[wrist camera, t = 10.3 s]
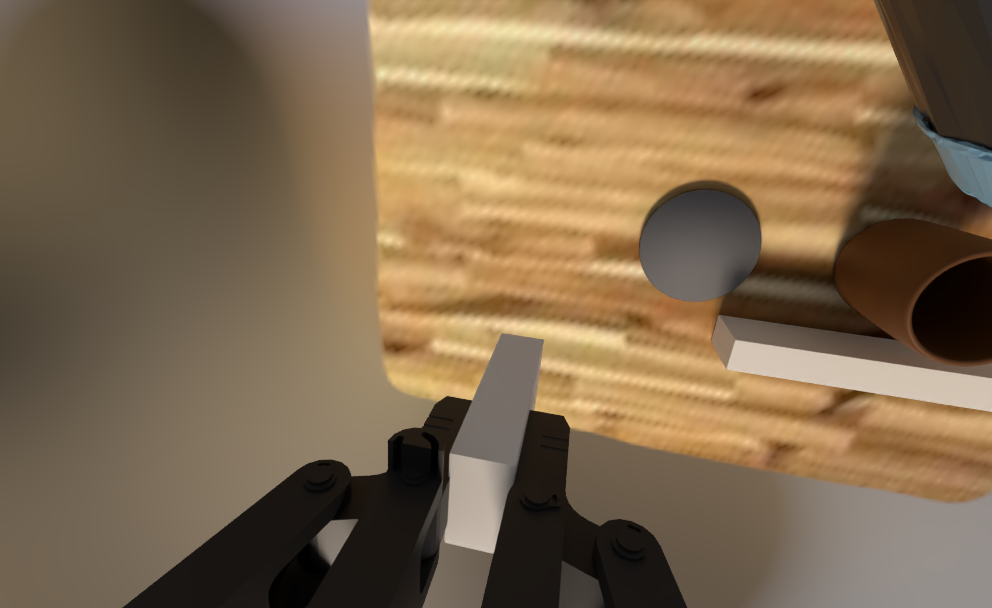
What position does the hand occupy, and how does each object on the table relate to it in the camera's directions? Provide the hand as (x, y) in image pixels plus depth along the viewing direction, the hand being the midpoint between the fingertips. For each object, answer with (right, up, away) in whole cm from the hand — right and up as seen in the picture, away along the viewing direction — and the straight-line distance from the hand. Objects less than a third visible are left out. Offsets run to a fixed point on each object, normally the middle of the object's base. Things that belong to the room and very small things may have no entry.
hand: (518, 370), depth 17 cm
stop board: (+29, -1, +21) cm, 36 cm away
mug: (+31, +5, +18) cm, 36 cm away
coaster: (+15, +7, +21) cm, 27 cm away
